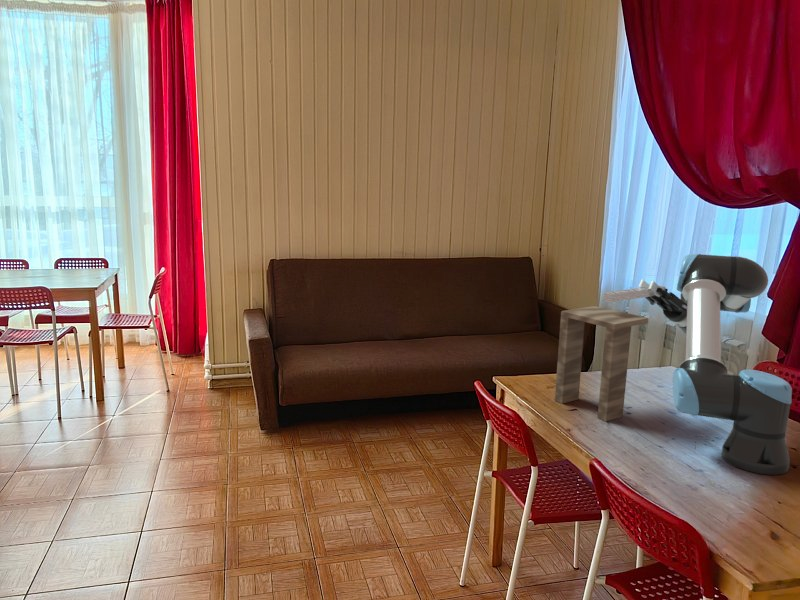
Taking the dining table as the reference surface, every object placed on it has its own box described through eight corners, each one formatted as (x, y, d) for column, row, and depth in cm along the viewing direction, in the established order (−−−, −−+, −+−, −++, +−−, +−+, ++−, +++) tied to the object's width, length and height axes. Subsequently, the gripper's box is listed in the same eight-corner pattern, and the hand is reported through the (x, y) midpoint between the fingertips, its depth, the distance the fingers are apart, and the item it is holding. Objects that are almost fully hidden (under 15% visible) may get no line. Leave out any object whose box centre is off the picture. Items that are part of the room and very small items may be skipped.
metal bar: (664, 294, 199) (665, 286, 199) (610, 302, 184) (611, 294, 184) (656, 292, 202) (657, 285, 201) (602, 300, 187) (603, 292, 186)
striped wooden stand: (638, 411, 188) (648, 318, 182) (605, 421, 179) (614, 324, 173) (587, 392, 204) (594, 306, 198) (554, 400, 195) (561, 311, 189)
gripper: (696, 327, 201) (664, 298, 188) (653, 317, 215) (620, 290, 201) (704, 307, 202) (673, 277, 189) (661, 298, 215) (629, 270, 202)
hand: (646, 284), depth 195 cm, fingers closed on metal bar, 3 cm apart
